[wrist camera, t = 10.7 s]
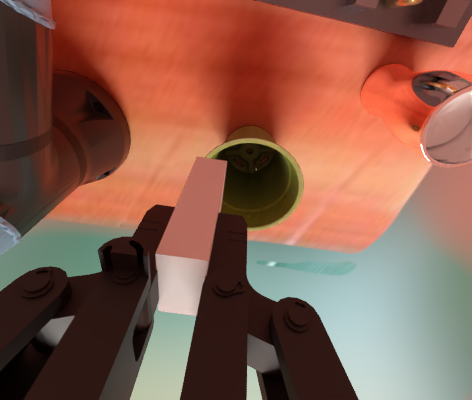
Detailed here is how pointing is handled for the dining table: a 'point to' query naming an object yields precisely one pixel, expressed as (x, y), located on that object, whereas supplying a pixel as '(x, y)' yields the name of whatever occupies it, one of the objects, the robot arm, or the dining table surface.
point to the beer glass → (424, 111)
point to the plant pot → (258, 178)
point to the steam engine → (394, 16)
